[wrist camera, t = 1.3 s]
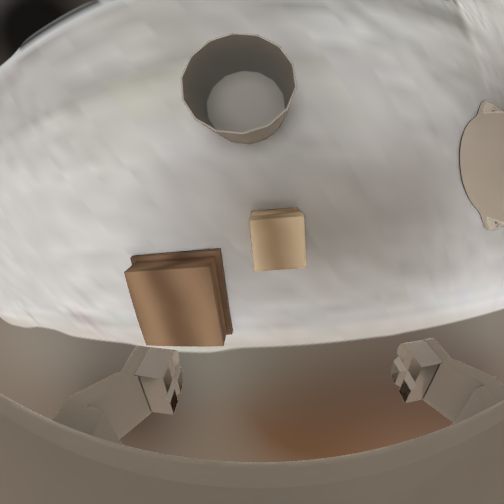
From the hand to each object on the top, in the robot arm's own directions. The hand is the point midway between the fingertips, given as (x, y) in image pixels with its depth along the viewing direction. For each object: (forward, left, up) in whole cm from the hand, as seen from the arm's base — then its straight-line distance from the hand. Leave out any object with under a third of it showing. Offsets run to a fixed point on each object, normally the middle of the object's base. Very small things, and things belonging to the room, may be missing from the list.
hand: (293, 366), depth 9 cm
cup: (+2, -13, -22) cm, 26 cm away
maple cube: (0, +1, -22) cm, 22 cm away
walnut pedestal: (+12, +8, -22) cm, 26 cm away
